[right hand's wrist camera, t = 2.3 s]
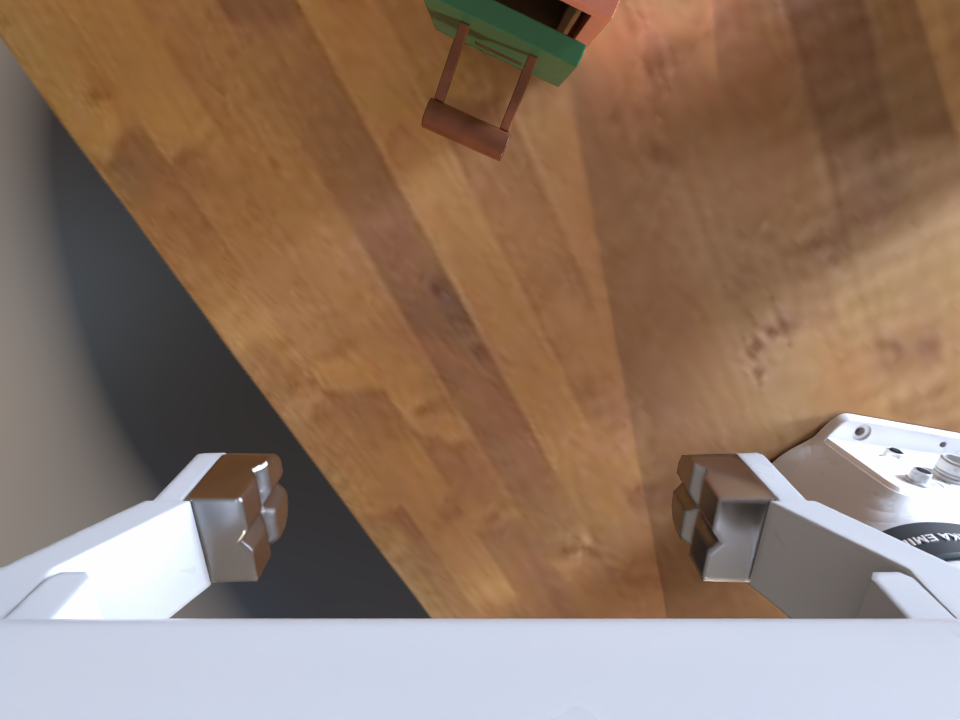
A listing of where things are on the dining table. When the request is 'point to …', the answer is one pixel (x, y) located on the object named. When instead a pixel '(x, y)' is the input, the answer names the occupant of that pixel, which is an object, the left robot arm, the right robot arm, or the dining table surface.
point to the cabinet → (591, 18)
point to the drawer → (501, 58)
